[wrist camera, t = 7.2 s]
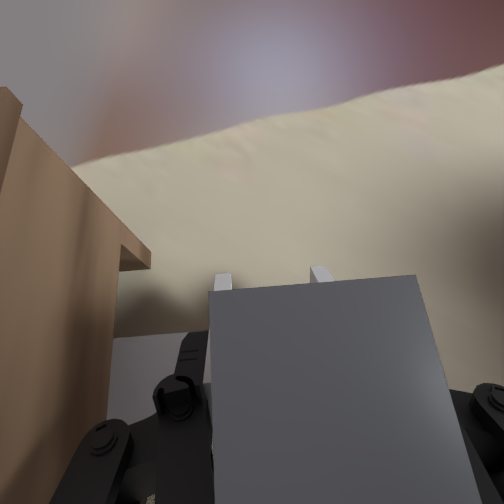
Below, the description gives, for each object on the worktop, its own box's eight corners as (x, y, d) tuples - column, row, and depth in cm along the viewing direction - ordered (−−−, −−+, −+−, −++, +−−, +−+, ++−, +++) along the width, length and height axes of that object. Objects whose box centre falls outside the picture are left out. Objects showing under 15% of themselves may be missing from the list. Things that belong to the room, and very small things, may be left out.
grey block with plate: (301, 323, 18) (408, 250, 6) (314, 414, 16) (505, 586, 4) (41, 345, 17) (-449, 318, 5) (25, 441, 16) (-757, 729, 4)
